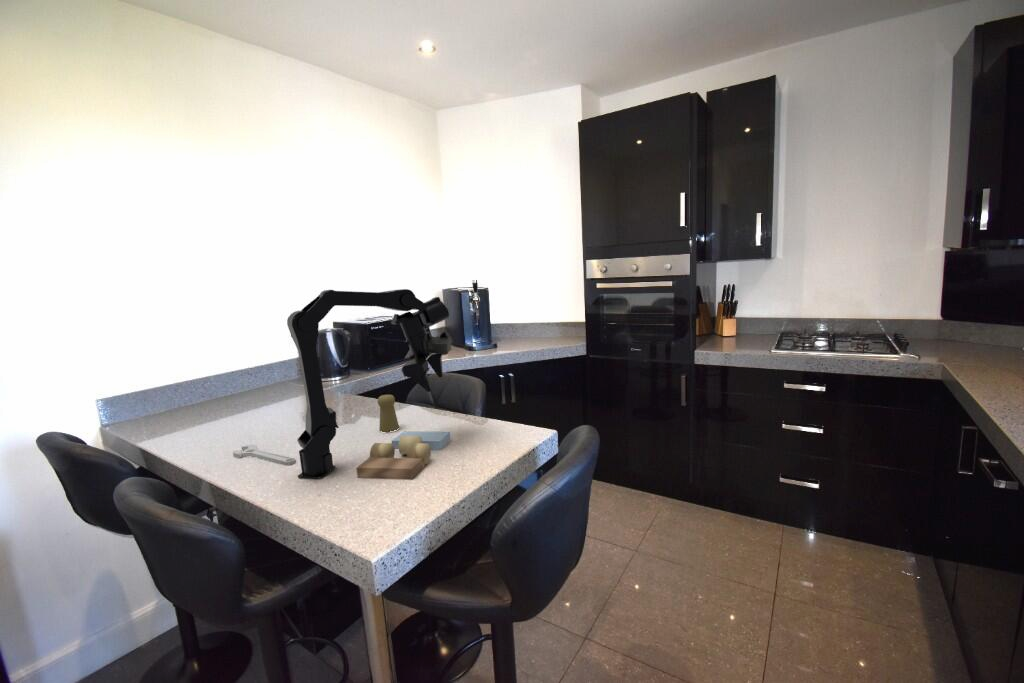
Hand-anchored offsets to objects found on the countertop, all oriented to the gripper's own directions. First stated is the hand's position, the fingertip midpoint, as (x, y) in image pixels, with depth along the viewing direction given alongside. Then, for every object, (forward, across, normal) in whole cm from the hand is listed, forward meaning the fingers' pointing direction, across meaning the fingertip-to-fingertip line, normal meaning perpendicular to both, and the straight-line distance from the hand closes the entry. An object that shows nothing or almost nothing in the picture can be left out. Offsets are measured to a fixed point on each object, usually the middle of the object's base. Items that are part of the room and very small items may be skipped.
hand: (435, 384), depth 128 cm
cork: (+13, +4, +23) cm, 27 cm away
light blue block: (+13, -10, +7) cm, 18 cm away
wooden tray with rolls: (+10, -24, +6) cm, 26 cm away
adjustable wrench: (+4, -19, +47) cm, 51 cm away
